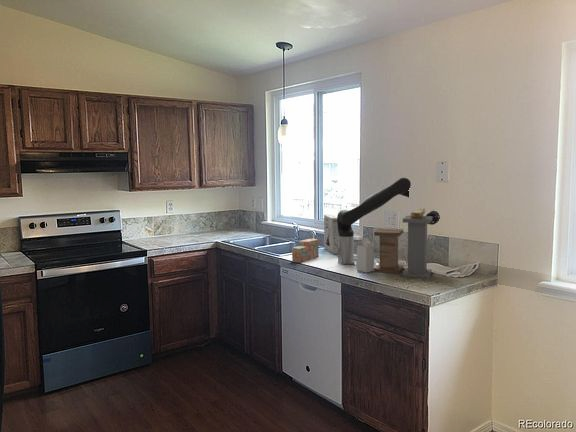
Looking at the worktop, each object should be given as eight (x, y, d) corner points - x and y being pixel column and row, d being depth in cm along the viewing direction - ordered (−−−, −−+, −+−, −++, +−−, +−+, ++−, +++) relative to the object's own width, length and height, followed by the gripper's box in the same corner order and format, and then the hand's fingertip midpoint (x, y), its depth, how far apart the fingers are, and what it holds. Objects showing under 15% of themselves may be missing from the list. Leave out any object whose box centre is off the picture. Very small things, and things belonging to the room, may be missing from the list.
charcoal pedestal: (428, 278, 249) (429, 219, 245) (402, 276, 255) (402, 218, 251) (431, 272, 262) (432, 216, 258) (406, 270, 268) (406, 215, 264)
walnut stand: (398, 273, 262) (398, 233, 259) (374, 271, 267) (374, 232, 264) (403, 267, 274) (403, 229, 271) (379, 266, 280) (379, 228, 277)
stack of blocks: (299, 263, 294) (299, 244, 292) (292, 261, 298) (291, 243, 296) (318, 256, 310) (318, 238, 309) (311, 255, 314) (310, 238, 313)
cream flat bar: (422, 218, 249) (422, 213, 248) (410, 218, 251) (410, 213, 251) (427, 213, 270) (427, 208, 269) (417, 213, 272) (417, 208, 272)
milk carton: (356, 270, 270) (356, 238, 267) (364, 268, 274) (364, 237, 272) (366, 272, 264) (366, 240, 262) (374, 270, 269) (374, 238, 266)
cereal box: (324, 248, 338) (323, 214, 335) (334, 247, 340) (333, 214, 336) (332, 254, 317) (332, 218, 314) (343, 253, 318) (342, 217, 315)
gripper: (421, 214, 287) (409, 222, 276) (441, 207, 277) (429, 215, 266) (426, 225, 287) (414, 233, 276) (447, 218, 277) (435, 227, 266)
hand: (422, 224), depth 271 cm, fingers open, 8 cm apart
